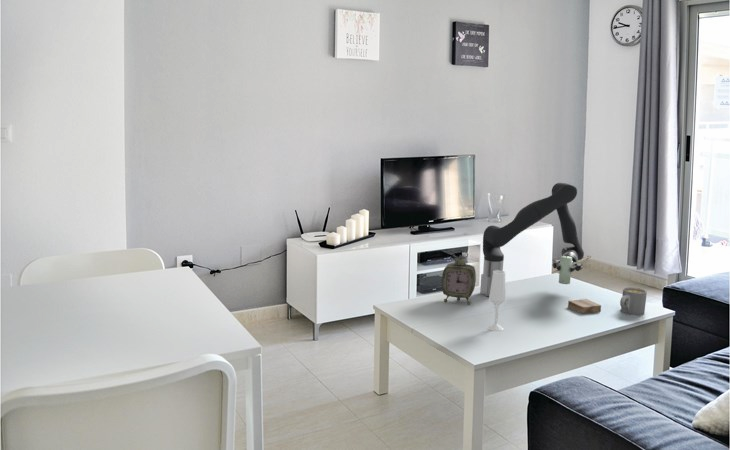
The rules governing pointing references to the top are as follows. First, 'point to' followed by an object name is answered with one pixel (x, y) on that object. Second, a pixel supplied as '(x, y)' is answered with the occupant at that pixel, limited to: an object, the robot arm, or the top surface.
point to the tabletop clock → (458, 279)
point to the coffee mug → (633, 300)
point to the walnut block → (584, 306)
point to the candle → (565, 269)
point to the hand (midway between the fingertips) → (565, 269)
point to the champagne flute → (497, 295)
